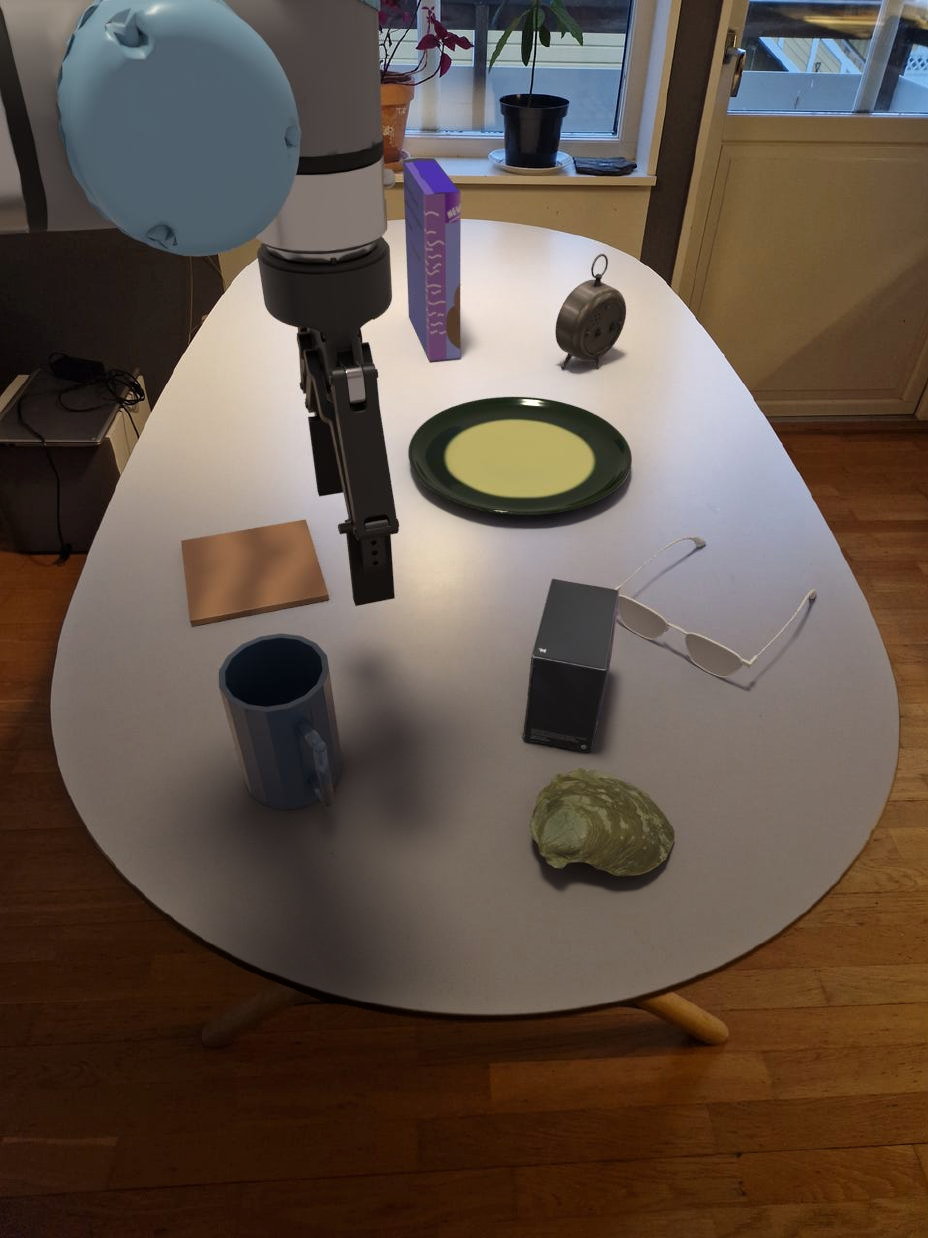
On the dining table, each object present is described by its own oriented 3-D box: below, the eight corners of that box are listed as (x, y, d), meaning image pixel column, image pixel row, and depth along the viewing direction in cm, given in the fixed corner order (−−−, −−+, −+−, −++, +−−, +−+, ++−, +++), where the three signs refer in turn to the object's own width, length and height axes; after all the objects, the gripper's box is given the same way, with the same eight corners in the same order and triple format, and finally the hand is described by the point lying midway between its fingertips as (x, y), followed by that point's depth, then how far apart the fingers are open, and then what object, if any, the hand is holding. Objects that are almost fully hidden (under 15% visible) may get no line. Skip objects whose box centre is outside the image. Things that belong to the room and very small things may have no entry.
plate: (659, 441, 114) (662, 424, 112) (581, 556, 95) (583, 538, 94) (470, 394, 123) (470, 378, 122) (367, 490, 105) (365, 473, 103)
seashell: (698, 819, 68) (645, 806, 60) (659, 904, 68) (601, 902, 60) (595, 763, 74) (535, 745, 66) (559, 841, 74) (495, 831, 66)
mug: (229, 760, 74) (201, 661, 66) (314, 719, 77) (297, 620, 69) (289, 854, 67) (266, 756, 59) (379, 804, 71) (369, 705, 63)
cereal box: (460, 359, 132) (460, 190, 116) (429, 362, 131) (425, 192, 115) (436, 314, 145) (434, 156, 128) (408, 316, 144) (402, 158, 128)
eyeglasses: (604, 618, 88) (609, 588, 85) (695, 539, 98) (701, 510, 95) (741, 692, 80) (751, 661, 78) (824, 598, 90) (835, 568, 88)
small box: (594, 756, 74) (609, 671, 67) (520, 742, 76) (527, 657, 69) (608, 671, 82) (622, 587, 75) (540, 660, 83) (548, 575, 76)
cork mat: (191, 626, 87) (189, 620, 86) (182, 546, 96) (180, 540, 96) (329, 600, 90) (328, 594, 89) (306, 524, 100) (305, 519, 99)
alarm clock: (601, 348, 135) (613, 240, 124) (626, 360, 132) (641, 251, 121) (550, 367, 130) (558, 257, 119) (575, 380, 127) (586, 268, 116)
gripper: (449, 317, 41) (451, 643, 55) (344, 173, 58) (366, 448, 73) (290, 336, 39) (335, 667, 53) (232, 182, 57) (277, 461, 71)
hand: (353, 541), depth 63 cm, fingers open, 13 cm apart
